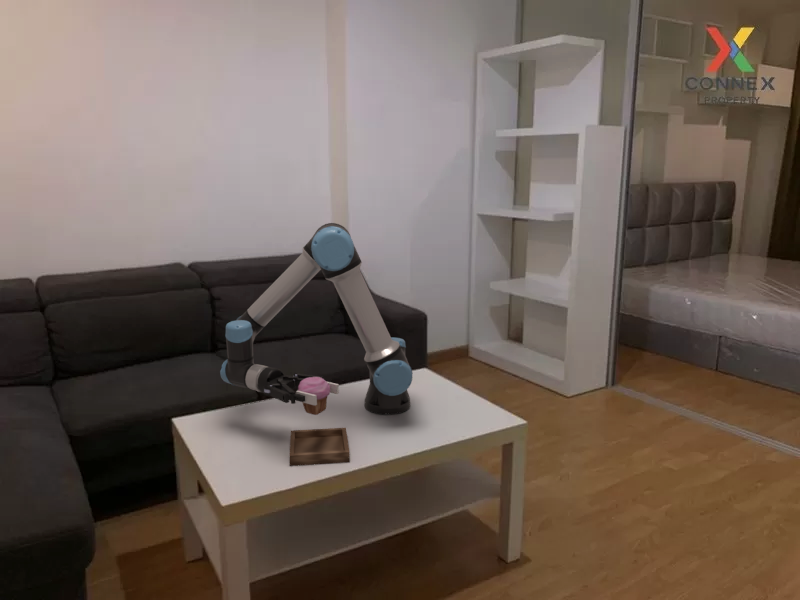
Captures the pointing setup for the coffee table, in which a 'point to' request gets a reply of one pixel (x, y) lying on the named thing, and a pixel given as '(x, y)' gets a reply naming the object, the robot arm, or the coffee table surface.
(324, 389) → the cupcake
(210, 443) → the coffee table surface
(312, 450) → the serving tray
